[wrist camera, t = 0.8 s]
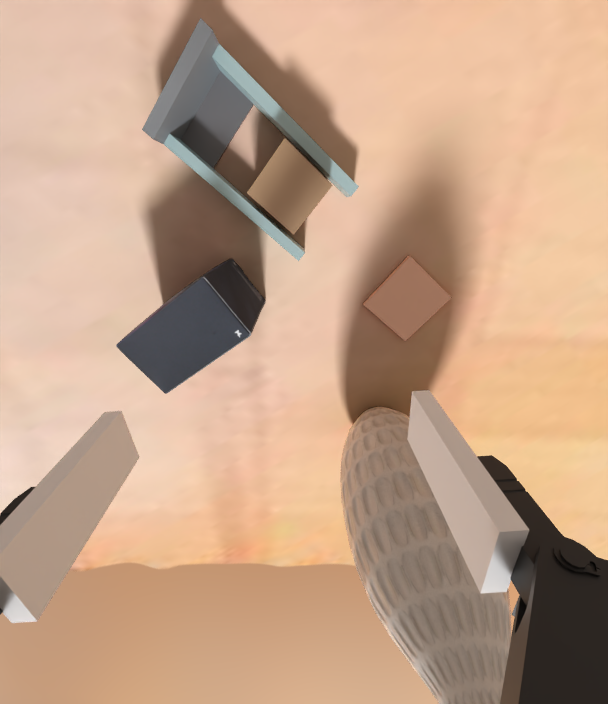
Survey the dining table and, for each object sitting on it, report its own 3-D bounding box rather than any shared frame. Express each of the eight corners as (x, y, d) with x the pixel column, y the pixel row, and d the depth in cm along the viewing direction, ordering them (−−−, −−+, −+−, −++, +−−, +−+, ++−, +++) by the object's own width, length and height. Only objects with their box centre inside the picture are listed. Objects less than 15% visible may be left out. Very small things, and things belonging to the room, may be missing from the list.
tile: (362, 303, 36) (363, 304, 35) (408, 255, 34) (410, 256, 33) (403, 339, 38) (405, 341, 37) (449, 296, 36) (451, 297, 35)
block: (255, 195, 31) (246, 193, 26) (287, 150, 29) (284, 137, 24) (294, 230, 32) (293, 234, 27) (326, 188, 31) (332, 185, 25)
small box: (230, 253, 33) (202, 271, 24) (267, 301, 36) (256, 335, 26) (160, 308, 36) (110, 345, 26) (199, 350, 38) (166, 398, 29)
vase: (318, 403, 42) (347, 717, 16) (411, 371, 40) (613, 669, 14) (348, 469, 47) (407, 787, 21) (432, 443, 45) (609, 759, 19)
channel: (166, 141, 29) (142, 129, 24) (217, 50, 26) (200, 17, 22) (298, 256, 33) (298, 264, 29) (353, 188, 31) (362, 185, 26)
